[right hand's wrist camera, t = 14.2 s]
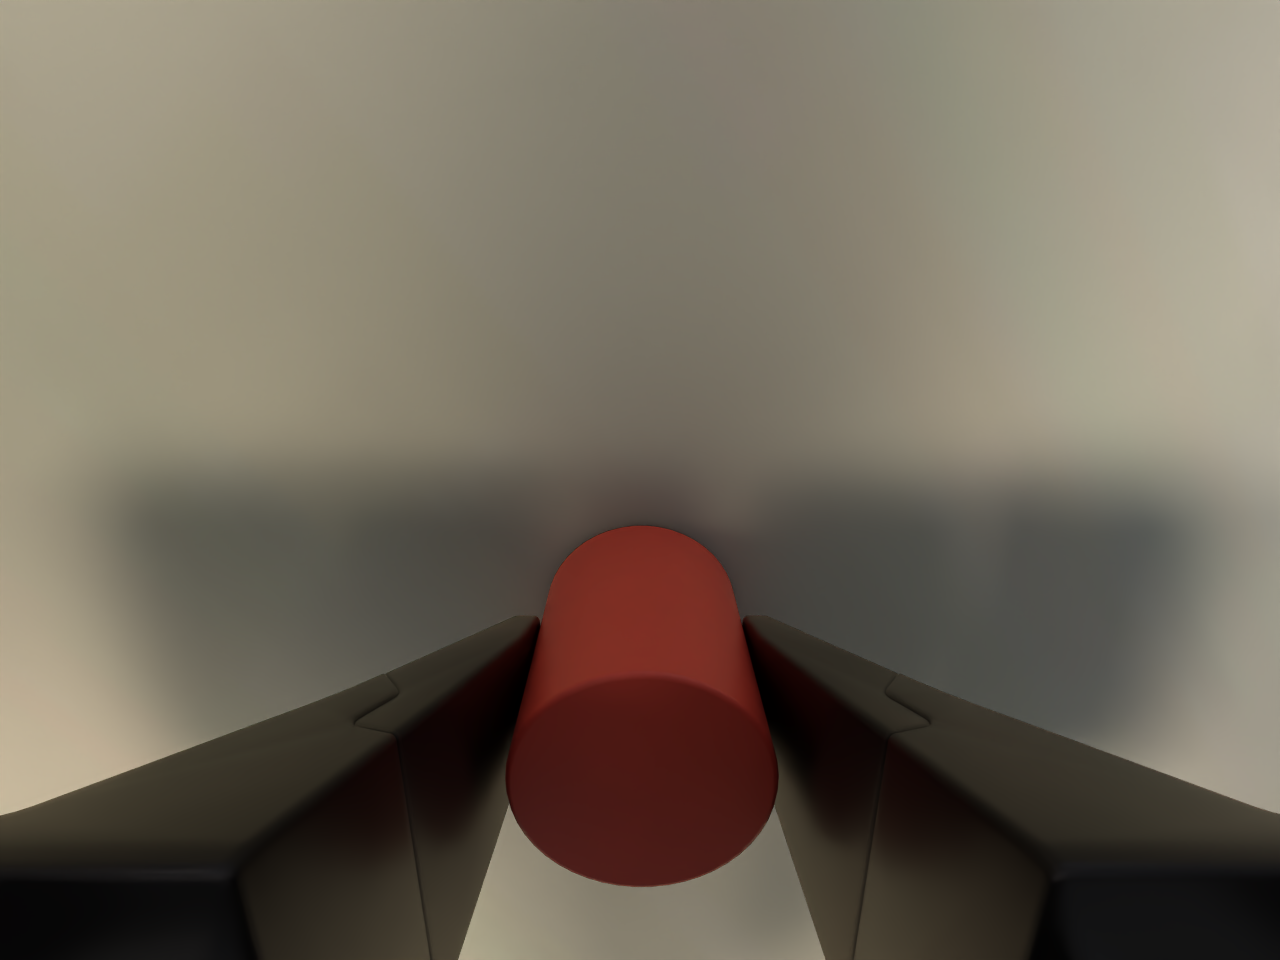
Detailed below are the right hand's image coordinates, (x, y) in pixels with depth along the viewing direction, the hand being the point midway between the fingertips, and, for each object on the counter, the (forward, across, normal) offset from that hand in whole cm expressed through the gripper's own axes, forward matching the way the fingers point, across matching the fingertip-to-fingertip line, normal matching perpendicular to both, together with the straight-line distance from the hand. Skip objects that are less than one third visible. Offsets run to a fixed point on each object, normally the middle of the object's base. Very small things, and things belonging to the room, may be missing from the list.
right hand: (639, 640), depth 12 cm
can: (+1, 0, 0) cm, 1 cm away
